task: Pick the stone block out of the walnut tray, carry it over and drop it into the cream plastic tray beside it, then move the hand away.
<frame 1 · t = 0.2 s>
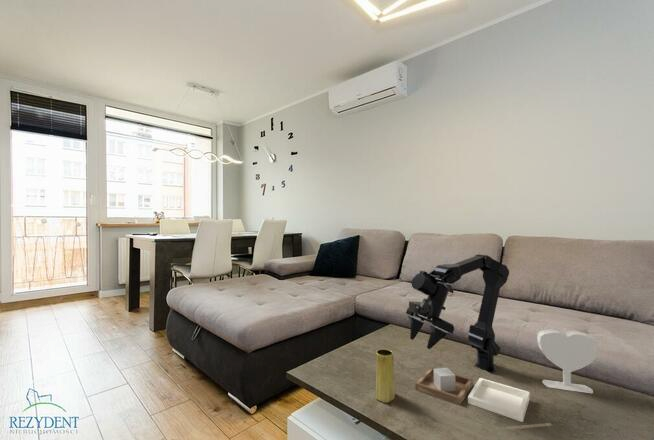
hand: (419, 343, 103), 14 cm above the table, fingers open, 9 cm apart
vase: (385, 397, 97), on the table
heart sculpture: (566, 386, 101), on the table
cream tray: (499, 402, 93), on the table
stone block: (444, 387, 101), point 1 cm above the table, touching walnut tray
walnut tray: (444, 388, 101), on the table
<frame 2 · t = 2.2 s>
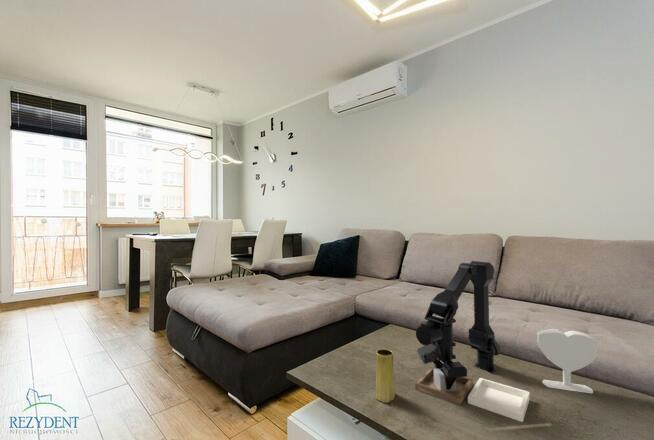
hand: (444, 384, 101), 1 cm above the table, fingers closed on stone block, 5 cm apart
stone block: (444, 387, 101), point 1 cm above the table, touching gripper, walnut tray
everything else where it was.
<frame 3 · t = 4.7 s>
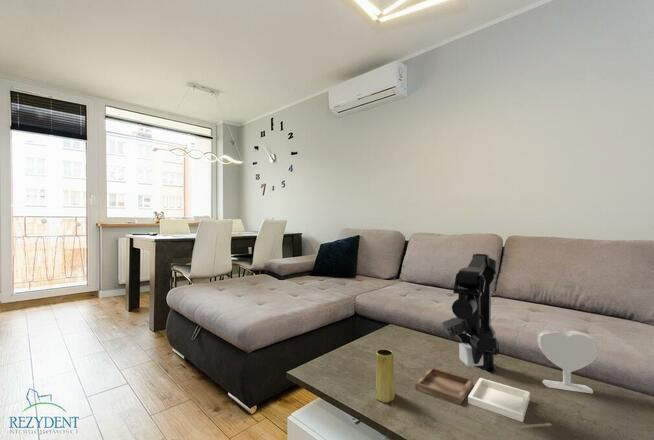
hand: (471, 359, 97), 11 cm above the table, fingers closed on stone block, 5 cm apart
stone block: (471, 361, 97), point 11 cm above the table, touching gripper
everything else where it was.
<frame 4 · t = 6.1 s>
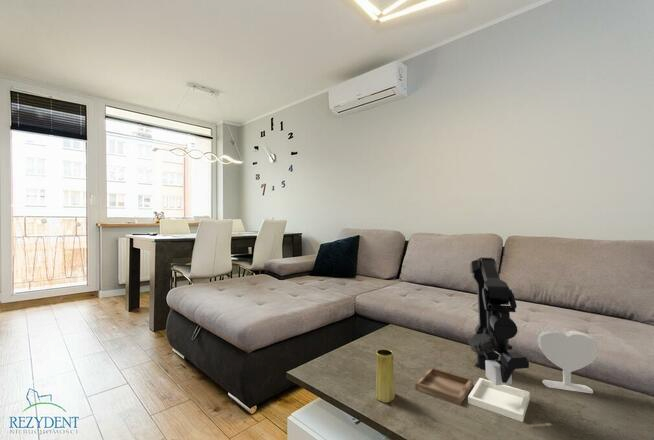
hand: (498, 377, 93), 7 cm above the table, fingers closed on stone block, 5 cm apart
stone block: (498, 380, 93), point 7 cm above the table, touching gripper
everything else where it was.
when the fingers open (3 cm above the table, at t = 7.2 s): stone block drops 2 cm, resting on cream tray.
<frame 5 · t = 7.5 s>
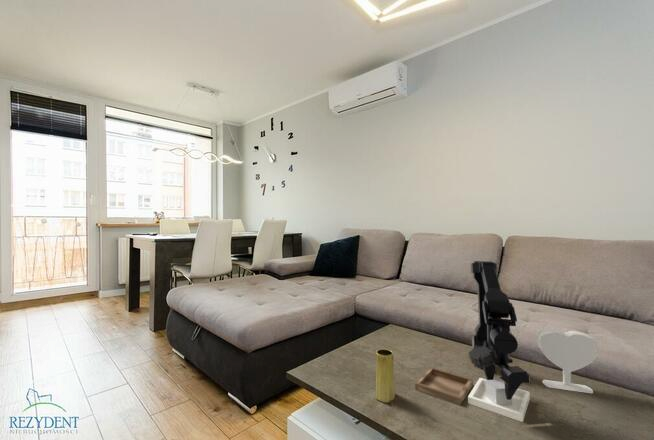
hand: (498, 391, 93), 3 cm above the table, fingers open, 8 cm apart
stone block: (498, 400, 93), point 1 cm above the table, touching cream tray
everything else where it was.
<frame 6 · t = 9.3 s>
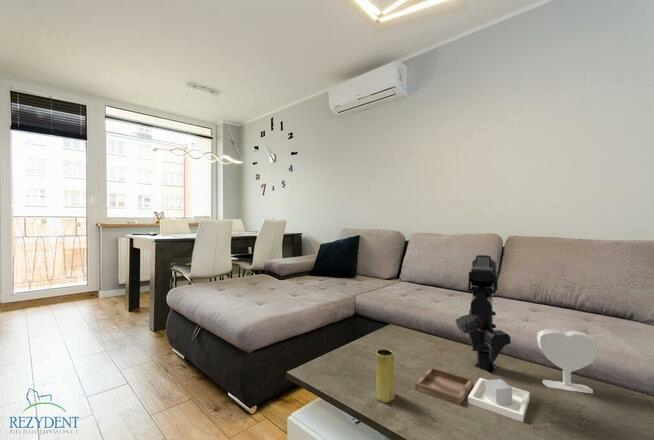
hand: (483, 354, 100), 11 cm above the table, fingers open, 9 cm apart
nothing on the table moved.
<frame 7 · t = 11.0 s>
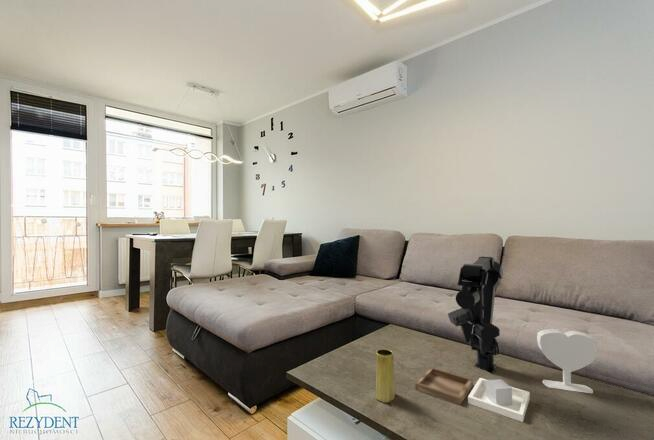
hand: (474, 347, 104), 12 cm above the table, fingers open, 9 cm apart
nothing on the table moved.
at the end: stone block inside the target area on the cream tray (0.1 cm from its centre), point 0.6 cm above the cream tray's base; stone block tilted 0°; the gripper is holding nothing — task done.
